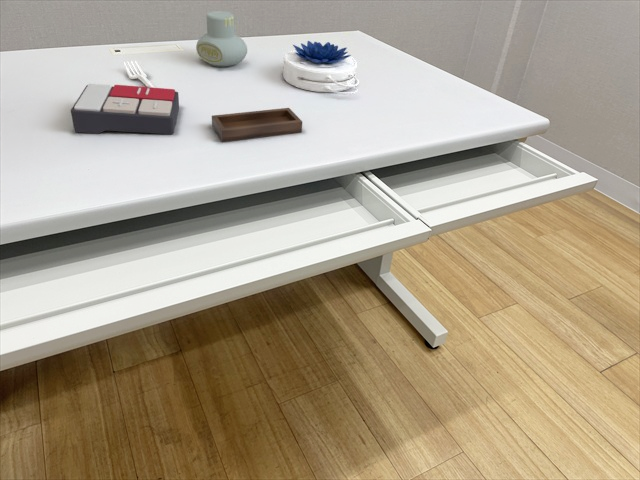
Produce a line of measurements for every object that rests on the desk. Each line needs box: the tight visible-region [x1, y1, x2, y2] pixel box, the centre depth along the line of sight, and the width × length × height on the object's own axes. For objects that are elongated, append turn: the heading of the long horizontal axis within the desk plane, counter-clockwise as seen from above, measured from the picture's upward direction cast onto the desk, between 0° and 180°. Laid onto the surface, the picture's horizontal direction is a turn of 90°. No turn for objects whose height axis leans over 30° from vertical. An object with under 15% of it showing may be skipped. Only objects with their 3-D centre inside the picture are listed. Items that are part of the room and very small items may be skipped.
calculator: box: [70, 83, 180, 135], centre depth 78 cm, size 11×4×15 cm
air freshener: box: [195, 10, 248, 68], centre depth 102 cm, size 11×8×10 cm
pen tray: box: [211, 107, 303, 143], centre depth 80 cm, size 14×6×2 cm, turn 115°
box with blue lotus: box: [282, 40, 360, 95], centre depth 99 cm, size 7×16×20 cm
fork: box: [123, 60, 156, 88], centre depth 90 cm, size 3×20×2 cm, turn 35°
